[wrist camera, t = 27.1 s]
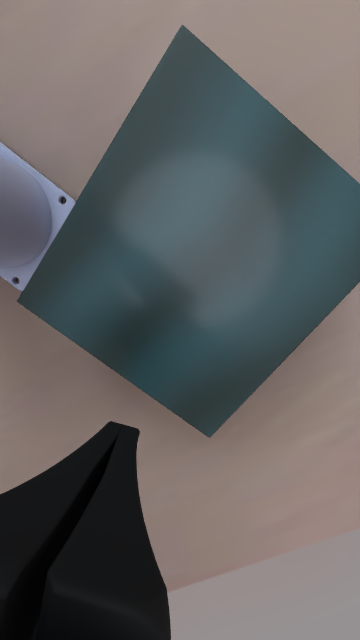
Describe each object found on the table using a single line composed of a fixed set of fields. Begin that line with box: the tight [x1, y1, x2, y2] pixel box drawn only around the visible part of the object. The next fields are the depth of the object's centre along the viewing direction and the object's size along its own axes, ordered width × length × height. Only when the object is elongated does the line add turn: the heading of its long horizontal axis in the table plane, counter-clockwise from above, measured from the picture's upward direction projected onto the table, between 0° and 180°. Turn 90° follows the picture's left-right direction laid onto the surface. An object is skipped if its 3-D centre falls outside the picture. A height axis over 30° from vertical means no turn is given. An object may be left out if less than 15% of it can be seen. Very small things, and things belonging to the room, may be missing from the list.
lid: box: [17, 25, 360, 438], centre depth 13 cm, size 12×14×1 cm
